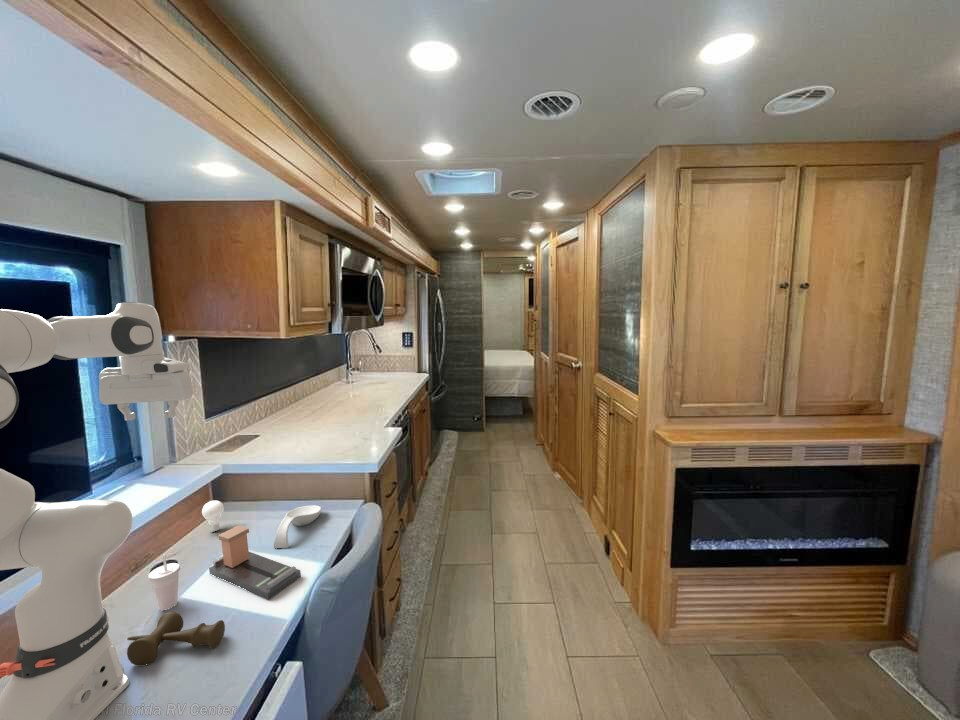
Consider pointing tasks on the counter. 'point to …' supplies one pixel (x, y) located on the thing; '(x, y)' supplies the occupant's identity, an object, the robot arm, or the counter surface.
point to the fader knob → (234, 546)
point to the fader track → (257, 575)
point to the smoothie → (165, 584)
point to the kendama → (172, 637)
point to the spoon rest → (295, 522)
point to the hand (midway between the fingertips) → (150, 418)
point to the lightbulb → (213, 514)
